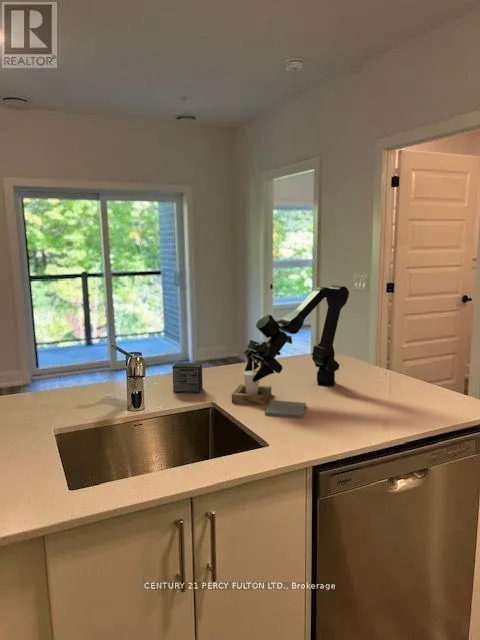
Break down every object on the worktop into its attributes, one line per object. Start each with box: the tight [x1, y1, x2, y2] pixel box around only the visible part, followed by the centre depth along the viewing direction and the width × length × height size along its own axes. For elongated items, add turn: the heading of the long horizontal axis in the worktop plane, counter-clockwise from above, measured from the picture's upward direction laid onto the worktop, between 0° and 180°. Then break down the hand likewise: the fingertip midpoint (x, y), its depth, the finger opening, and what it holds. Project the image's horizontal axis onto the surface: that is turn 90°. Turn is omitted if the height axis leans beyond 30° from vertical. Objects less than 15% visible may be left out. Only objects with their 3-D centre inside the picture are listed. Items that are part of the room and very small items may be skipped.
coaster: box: [264, 399, 307, 419], centre depth 156 cm, size 12×12×1 cm
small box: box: [171, 362, 204, 394], centre depth 177 cm, size 11×6×10 cm, turn 84°
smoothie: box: [242, 361, 260, 395], centre depth 167 cm, size 6×6×14 cm
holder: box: [231, 384, 272, 406], centre depth 168 cm, size 12×12×3 cm
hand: (248, 378), depth 166 cm, fingers closed on smoothie, 6 cm apart
